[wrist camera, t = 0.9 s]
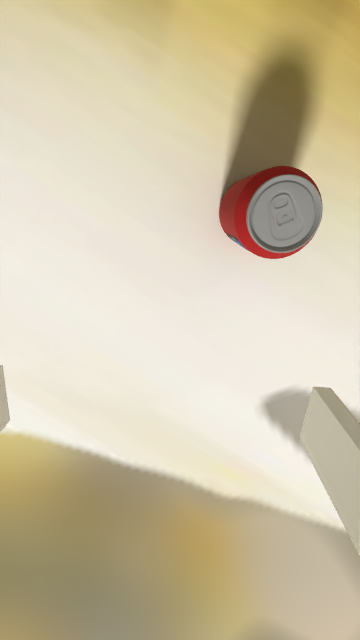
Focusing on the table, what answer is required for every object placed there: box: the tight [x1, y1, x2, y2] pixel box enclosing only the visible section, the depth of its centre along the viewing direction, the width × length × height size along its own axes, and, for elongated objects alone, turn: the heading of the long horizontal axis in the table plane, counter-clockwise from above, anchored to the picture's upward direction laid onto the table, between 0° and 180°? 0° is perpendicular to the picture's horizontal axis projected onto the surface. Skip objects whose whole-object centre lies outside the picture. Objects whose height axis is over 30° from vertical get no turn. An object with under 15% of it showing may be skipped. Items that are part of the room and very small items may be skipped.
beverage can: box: [219, 166, 322, 259], centre depth 28 cm, size 7×7×12 cm
